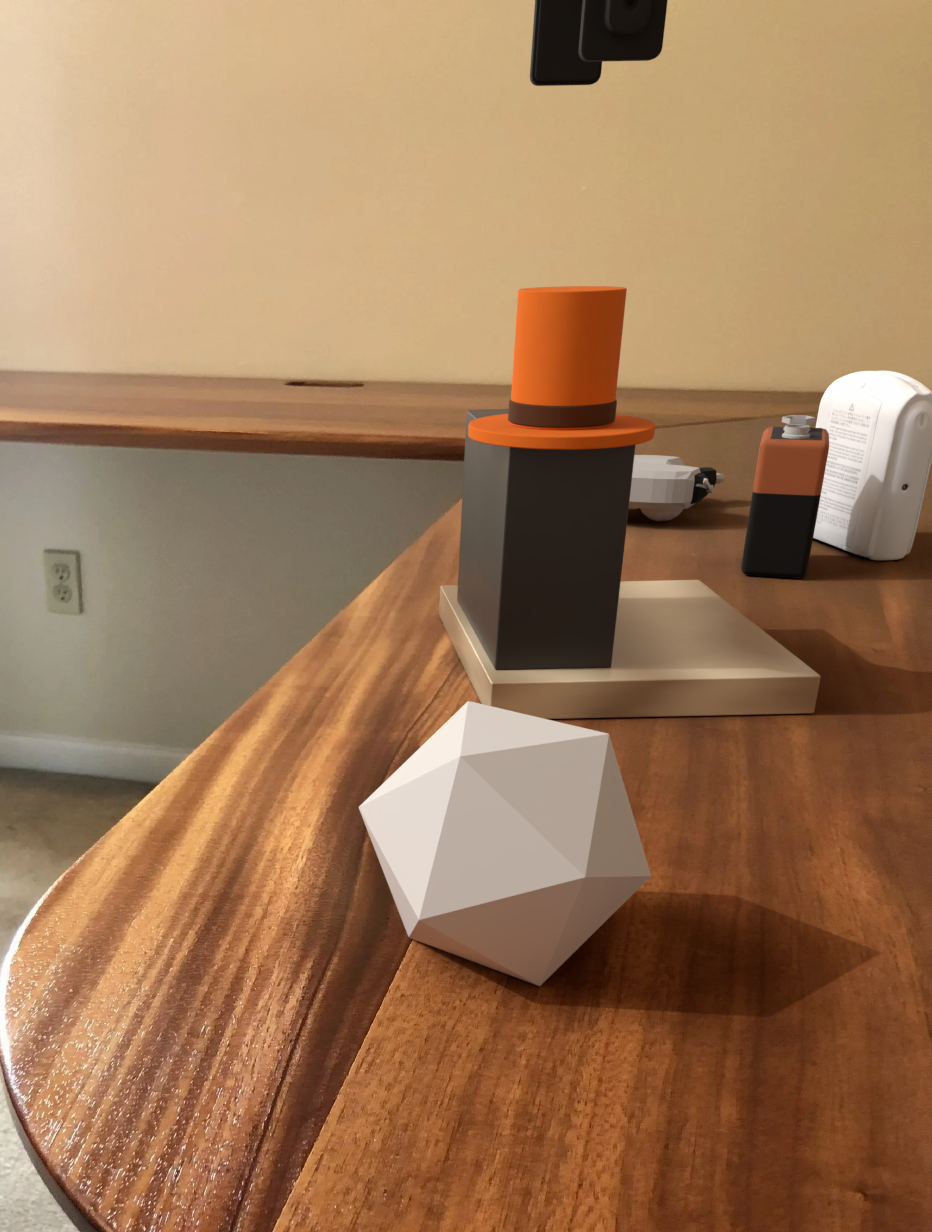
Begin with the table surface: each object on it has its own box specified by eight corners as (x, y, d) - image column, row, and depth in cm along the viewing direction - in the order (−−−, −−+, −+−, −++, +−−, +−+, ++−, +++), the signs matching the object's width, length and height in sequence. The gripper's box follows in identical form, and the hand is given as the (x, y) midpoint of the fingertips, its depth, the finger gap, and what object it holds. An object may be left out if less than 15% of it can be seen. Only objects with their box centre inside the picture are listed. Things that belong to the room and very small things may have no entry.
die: (677, 958, 46) (605, 690, 47) (661, 953, 37) (575, 627, 39) (446, 1011, 48) (385, 757, 50) (382, 1018, 40) (311, 712, 41)
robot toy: (589, 501, 120) (546, 519, 108) (595, 450, 118) (552, 462, 106) (726, 510, 115) (698, 530, 103) (734, 457, 113) (707, 470, 101)
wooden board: (694, 610, 83) (699, 579, 82) (814, 713, 66) (821, 675, 65) (438, 616, 83) (440, 585, 82) (488, 720, 66) (491, 682, 65)
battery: (807, 558, 95) (832, 414, 90) (805, 580, 89) (833, 427, 85) (744, 555, 96) (766, 412, 92) (739, 576, 91) (762, 425, 86)
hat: (627, 421, 68) (642, 282, 65) (677, 447, 60) (696, 290, 57) (456, 425, 68) (462, 286, 65) (483, 451, 60) (492, 295, 57)
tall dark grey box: (557, 598, 79) (574, 406, 74) (614, 667, 66) (639, 443, 61) (456, 600, 79) (466, 409, 74) (494, 670, 66) (509, 446, 61)
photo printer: (920, 559, 94) (960, 376, 88) (867, 563, 93) (903, 379, 88) (837, 531, 103) (868, 363, 97) (787, 534, 102) (816, 365, 96)
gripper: (834, -611, 40) (745, 46, 48) (670, -379, 55) (623, 91, 63) (593, -607, 40) (544, 50, 48) (496, -376, 55) (471, 93, 63)
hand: (589, 72), depth 56 cm, fingers open, 9 cm apart
